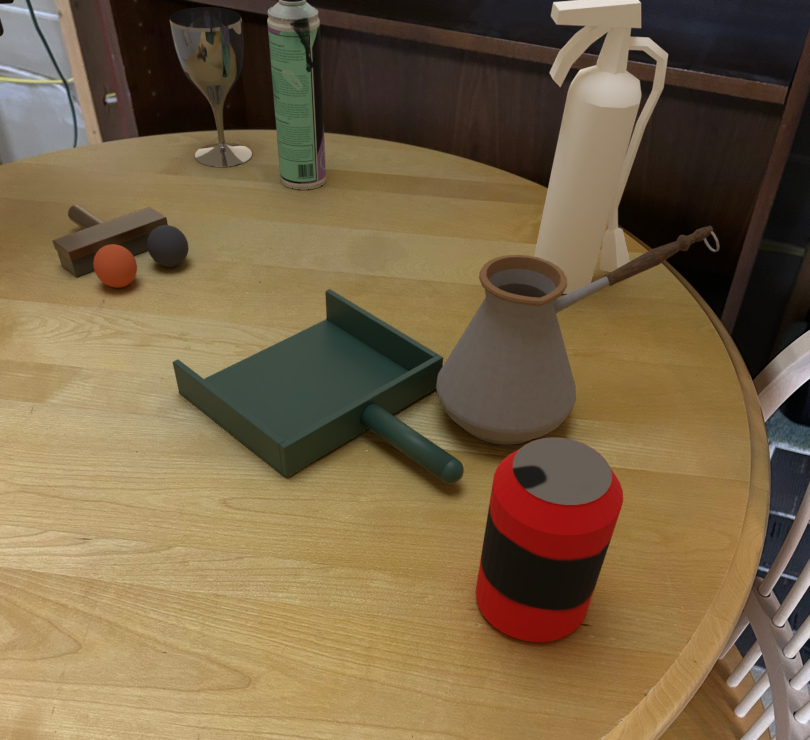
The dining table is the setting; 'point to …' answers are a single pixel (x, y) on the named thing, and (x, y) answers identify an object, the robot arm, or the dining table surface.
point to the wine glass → (212, 69)
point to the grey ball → (167, 246)
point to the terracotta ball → (115, 266)
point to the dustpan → (325, 392)
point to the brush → (104, 236)
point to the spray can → (297, 93)
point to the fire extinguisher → (595, 139)
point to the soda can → (546, 538)
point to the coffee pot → (525, 346)
